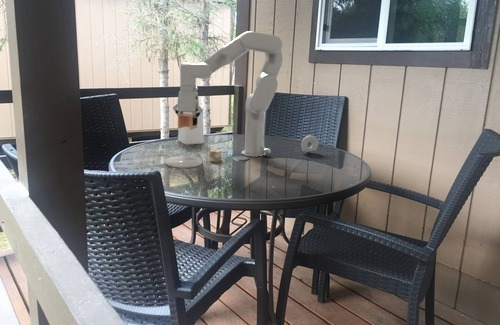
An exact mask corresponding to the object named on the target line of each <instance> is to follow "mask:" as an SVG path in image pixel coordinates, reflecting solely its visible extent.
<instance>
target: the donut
mask: <svg viewBox="0 0 500 325" xmlns="http://www.w3.org/2000/svg"><path fill="white" fill-rule="evenodd" d="M309 142H310V143H311V145H310V146H308V144H309ZM300 143H301V144H300V146H301V150H302V151H303V152H304V151H306V152H309V151H315V152H316V151H317V149H318V148H319V140H318V138H317V137H316V136H315V135H311V134H310V135H309V134H308V135H306V136H305V137H304V138H302V141H301V142H300Z"/></svg>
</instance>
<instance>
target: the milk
mask: <svg viewBox="0 0 500 325" xmlns="http://www.w3.org/2000/svg"><path fill="white" fill-rule="evenodd" d="M198 112H199V111H197V113H198ZM183 113H192V112H183ZM177 132H178V134H177V141H179V142H180V143H182V144H183V145H196V144H204V143H205V138H204V137H205V134H204V111H203V112H202V113H201V114H200V115H199V116H198V119H197V128H195V129H192V130H190V127H182V128H179V129H178V131H177Z"/></svg>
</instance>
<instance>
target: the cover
mask: <svg viewBox="0 0 500 325" xmlns="http://www.w3.org/2000/svg"><path fill="white" fill-rule="evenodd" d="M193 118H194V116H193V114H192V113H182V114H178V116H177V129H178V130H179V128H182V127H190V130H192V129H195V128H197V125H195V126H193Z"/></svg>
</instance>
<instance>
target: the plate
mask: <svg viewBox="0 0 500 325" xmlns="http://www.w3.org/2000/svg"><path fill="white" fill-rule="evenodd" d="M202 164H203V159H201V158H199V157H195V156H188V155H187V156H186V155H185V156H183V155H182V156H172V157H168V158H166V159H165V160H164V165H166V166H169V167H173V168H177V169H178V168H179V169H181V168H183V169H185V168H186V169H188V168H189V169H190V168H196V167H199V166H202Z"/></svg>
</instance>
